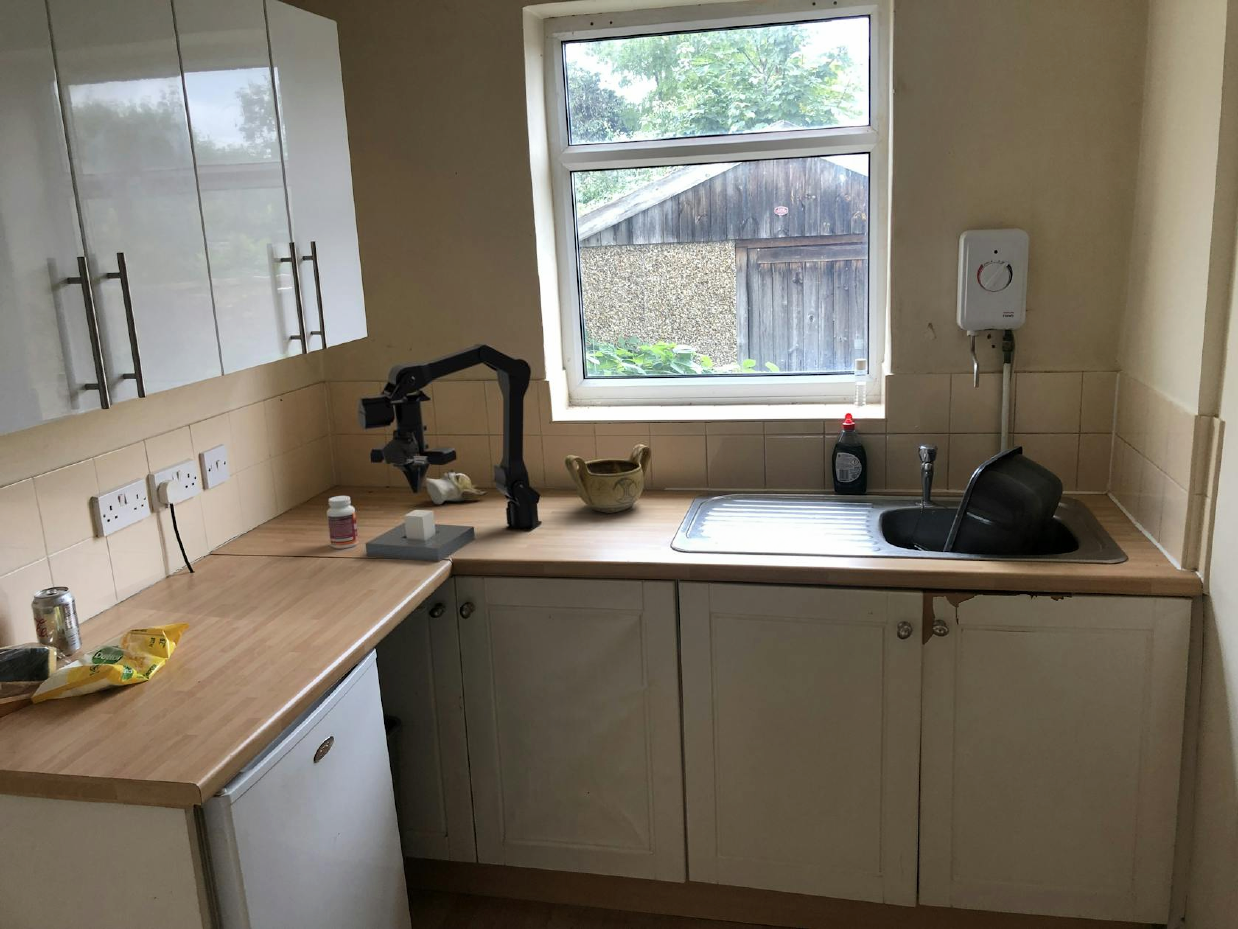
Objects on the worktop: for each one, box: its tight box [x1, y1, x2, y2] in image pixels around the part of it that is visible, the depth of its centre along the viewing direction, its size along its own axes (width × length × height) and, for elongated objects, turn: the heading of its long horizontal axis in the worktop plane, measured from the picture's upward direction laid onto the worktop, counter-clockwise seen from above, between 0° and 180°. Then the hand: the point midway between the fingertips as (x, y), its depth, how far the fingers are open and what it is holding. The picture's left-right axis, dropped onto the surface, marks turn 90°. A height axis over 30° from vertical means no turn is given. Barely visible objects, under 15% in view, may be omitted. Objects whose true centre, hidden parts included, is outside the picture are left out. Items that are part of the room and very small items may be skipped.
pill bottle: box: [326, 495, 359, 550], centre depth 225 cm, size 6×6×11 cm
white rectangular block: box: [403, 509, 436, 540], centre depth 220 cm, size 5×5×8 cm
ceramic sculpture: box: [425, 469, 489, 505], centre depth 258 cm, size 11×9×15 cm
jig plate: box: [365, 522, 476, 563], centre depth 221 cm, size 18×16×3 cm
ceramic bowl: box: [564, 443, 652, 514], centre depth 242 cm, size 22×17×15 cm
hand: (416, 493), depth 218 cm, fingers closed
